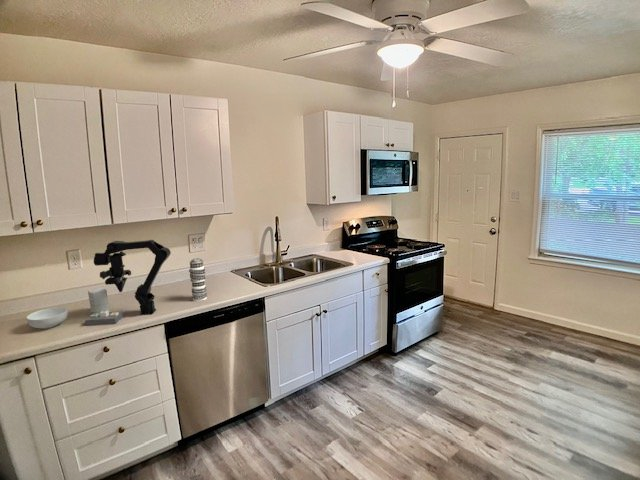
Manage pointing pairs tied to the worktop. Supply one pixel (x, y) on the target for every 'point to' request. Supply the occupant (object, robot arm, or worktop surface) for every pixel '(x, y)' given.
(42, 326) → the cereal bowl
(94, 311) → the supplement box
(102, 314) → the key mid
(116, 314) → the key
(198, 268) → the decorative candle
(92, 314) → the key
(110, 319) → the gray key socket board
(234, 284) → the worktop surface
